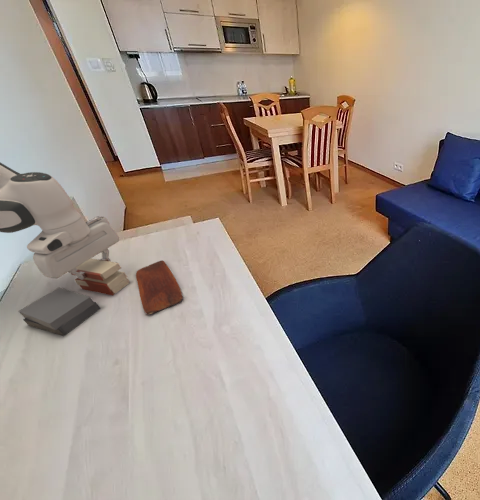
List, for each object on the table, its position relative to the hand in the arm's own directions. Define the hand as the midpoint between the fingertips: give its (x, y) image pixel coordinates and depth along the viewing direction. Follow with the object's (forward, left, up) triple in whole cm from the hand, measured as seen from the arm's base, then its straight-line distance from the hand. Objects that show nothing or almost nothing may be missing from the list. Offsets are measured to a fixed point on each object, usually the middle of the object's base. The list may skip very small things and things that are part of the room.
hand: (95, 270), depth 91 cm
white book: (0, 0, 0) cm, 0 cm away
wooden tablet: (+17, +4, -6) cm, 19 cm away
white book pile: (0, 0, -6) cm, 6 cm away
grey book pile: (+1, -13, -6) cm, 14 cm away
